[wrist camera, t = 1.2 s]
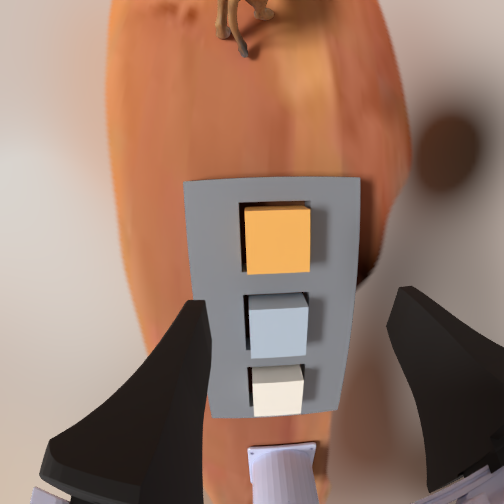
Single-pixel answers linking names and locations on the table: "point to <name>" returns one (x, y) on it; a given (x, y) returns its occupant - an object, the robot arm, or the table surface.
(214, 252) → the button board
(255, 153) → the table surface
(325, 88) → the table surface
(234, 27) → the lion figurine
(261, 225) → the orange button
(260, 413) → the cream button
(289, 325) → the slate-blue button
